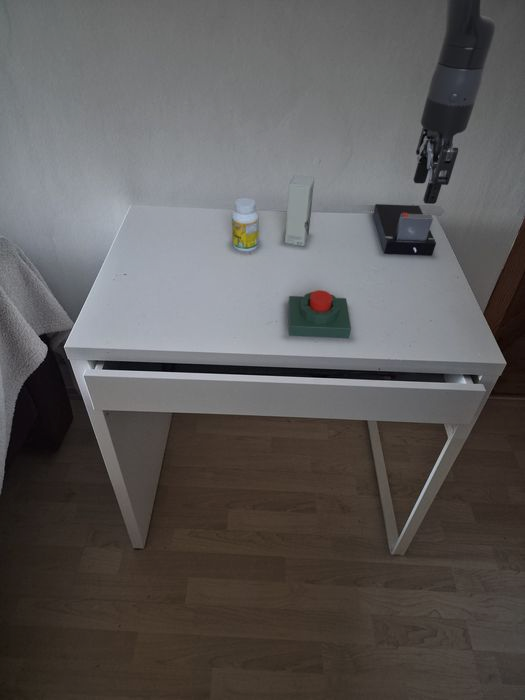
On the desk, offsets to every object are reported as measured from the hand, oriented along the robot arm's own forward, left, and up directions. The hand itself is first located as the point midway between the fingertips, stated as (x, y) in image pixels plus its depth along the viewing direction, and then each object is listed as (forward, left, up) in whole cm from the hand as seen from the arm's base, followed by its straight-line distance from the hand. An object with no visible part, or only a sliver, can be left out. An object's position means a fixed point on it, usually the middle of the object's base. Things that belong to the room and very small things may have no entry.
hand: (423, 192), depth 83 cm
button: (+6, +29, -10) cm, 32 cm away
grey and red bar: (0, -1, -10) cm, 10 cm away
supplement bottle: (+30, +16, -13) cm, 36 cm away
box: (+22, +8, -13) cm, 27 cm away
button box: (+6, +29, -13) cm, 33 cm away
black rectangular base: (+2, -5, -13) cm, 14 cm away
